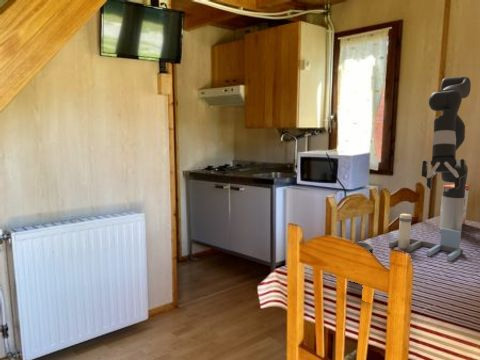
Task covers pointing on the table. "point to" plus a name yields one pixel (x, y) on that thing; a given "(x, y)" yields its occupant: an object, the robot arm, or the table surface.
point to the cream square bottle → (404, 230)
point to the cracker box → (464, 199)
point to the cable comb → (447, 243)
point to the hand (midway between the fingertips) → (443, 188)
